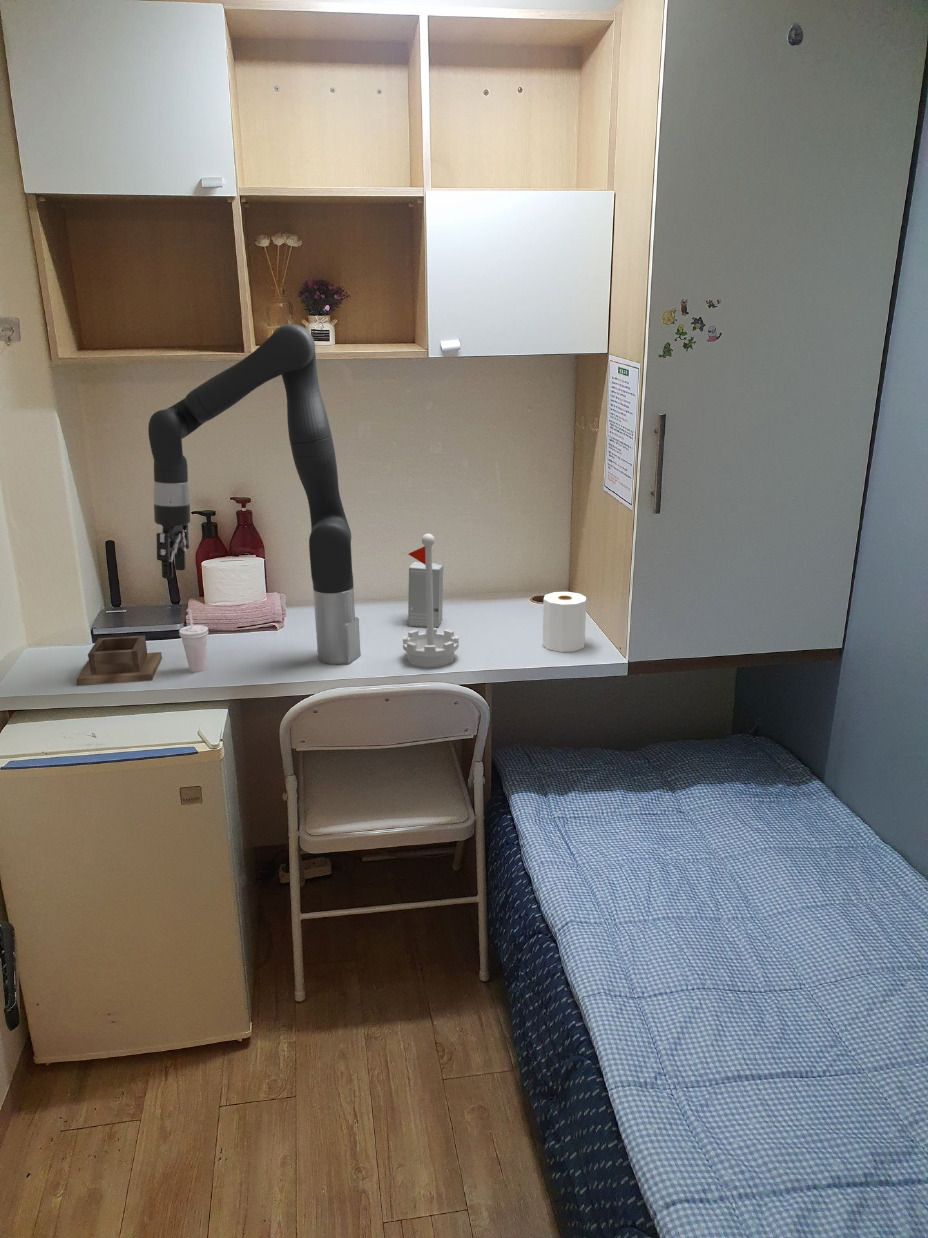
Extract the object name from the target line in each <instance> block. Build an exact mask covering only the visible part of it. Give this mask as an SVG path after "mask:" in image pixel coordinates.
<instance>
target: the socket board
mask: <svg viewBox="0 0 928 1238" xmlns="http://www.w3.org/2000/svg"><path fill="white" fill-rule="evenodd" d="M162 655H163V654H162V651H157V652H155V651H154V652H148V646H147V639H146V635H131V636H130V635H129V636H115V637H114V636H112V637H99V638H97V639H96V641H95V643H94V645H92V647H91V648H90V650H89V652H88V654H87V657H88V660H87V661H86V663H85V665H84V666H83V667H82V669H81V670H80V672H79V674H78V675H77V677H76V678H75V680H76V686H87V685H89V686H90V685H102V684H116V683H118V684H119V683H130V682H132V683H133V682H142V681H143V682H145V681H146V682H147V681H153V679H154V677H155V674H156V673H157V670H158V668H159V666H160V663H161V662H162V659H163V656H162Z"/></svg>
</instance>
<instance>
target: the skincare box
mask: <svg viewBox="0 0 928 1238" xmlns="http://www.w3.org/2000/svg"><path fill="white" fill-rule="evenodd" d="M432 582H433V625H434V628H439V627H440V625H441V623H442V622H443V603H444V602H443V601H444V600H443V599H444V598H443V597H444V596H443V595H444V563H434V562H432ZM407 601H408V603H407V604H408V605H407V606H408V609H407V610H408V611H407V612H408V615H407V616H408V617H407V619H408V621H407V625H408V627H418V628H419V627H421V628H422V627H423V628H425V627H426V628H427V606H426V567H425V564H423V563H421V562H420V561H414V562H412V563H411V564H410V565H409V567H408V600H407ZM441 621H442V622H441Z"/></svg>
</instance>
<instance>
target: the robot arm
mask: <svg viewBox="0 0 928 1238" xmlns="http://www.w3.org/2000/svg"><path fill="white" fill-rule="evenodd" d="M280 376H281V377H282V382H283V385H284V389H285V395H286V408H287V409H286V410H287V413H286V414H287V430H288V438H289V439H288V440H289V445H290V448H291V454H292V458H293V461H294V466H295V469H296V472H297V474H298V477H299V480H300V482H301V484H302V486H303V490H304V491H305V496H306V498H307V499H306V500H307V502H308V508H309V515H310V516H309V517H310V528H311V529H310V531H311V532H310V535H309V537H308V538H309V539H308V549H309V550H308V551H309V552H308V553H309V562H310V563H309V564H310V575H311V580H312V588H313V604H314V605H313V606H314V608H313V609H314V620H315V623H314V624H315V633H316V636H315V637H316V648H317V651H316V652H317V659H318V661H319V662H321V663H323V664H329V665H341V664H348V665H349V664H351V663H352V662H353V661H355V660H356V659H357V658H359V657H360V656H361V655H362V654H361V653H362V652H361V637H360V636H361V635H360V618H359V617H357V616H356V609H355V607H356V606H355V588H354V585H355V584H354V574H353V564H352V563H353V560H352V558H353V557H352V544H351V543H352V531H351V528H350V526H349V523H348V519H347V516H346V513H345V510H344V507H343V502H342V499H341V496H340V495H341V494H340V490H339V477H338V476H339V475H338V466H337V464H338V463H337V458H336V457H337V456H336V451H335V446H334V440H333V436H332V431H331V425H330V424H329V418H328V414H327V412H326V407H325V404H324V401H323V396H322V394H321V390H320V384H319V378H318V377H319V376H318V367H317V358H316V343H315V339H314V338H313V336H312V334H311V333H310V331H309V330H308V329H306V328H305V327H304V326H302V325H299V324H296V323H295V324H294V323H293V324H292V323H290V324H289V323H288V324H284V325H281V326H279V327H277V328H276V329H275V330H274V331H273V332H272V334H271V335H270V336H269V337H268V338H266V339H265V340H264V341H263V343H261V344H260V346H258V347H257V348H256V349H255V350H254V351H252V352H251V353H250V354H248V355H247V356H246V357H244V358H243V359H241V360H240V361H238V362H237V363H235V364H233V365H232V366H230V367H229V368H227V369H224V370H223V371H221V372H220V373H218V374H215V375H214V376H212V377H211V378H209V379H207V380H206V381H204V382H203V383H201V384H199V385H198V386H196V387H195V388H194V389H192V390H190V391H189V392H188V393H187V394H186V396H185V397H184V398H182V399H181V400H180V401H178V402H176V403H174V404H173V405H171V406H170V407H168V408H165V409H161V410H157V411H155V412H154V413H153V414H152V415H151V416H150V418H149V421H148V433H147V434H148V439H149V440H148V441H149V445H150V451H151V455H152V458H153V480H154V481H153V482H154V483H153V516H154V517H153V519H154V523H155V524H157V525H161V526H162V531H161V532H157V533H156V536H155V537H156V559H157V561H160V562H161V577H162V579H166V580H167V579H168V580H171V579H172V578H174V570H175V571H185V570H186V554H187V552H188V550H189V549H190V542H189V541H190V540H189V524H190V522H191V507H190V505H191V504H190V503H191V502H190V497H191V496H190V489H189V488H190V487H189V482H188V481H189V477H188V476H189V475H188V473H189V472H188V471H189V469H188V468H189V467H188V462H187V461H188V460H187V458H186V457H185V455H184V452H183V439H185V438H186V437H188V436H189V435H191V434H192V433H193V432H194V431H196V430H197V429H198V428H199V427H201V426H202V425H203V424H205V423H207V422H208V421H211V420H212V419H214V418H216V417H218V416H219V415H221V414H222V413H223V412H225V411H227V410H228V409H230V408H231V407H233V406H234V405H236V404H237V403H239V402H240V401H241V400H242V399H244V398H245V397H246V396H248V395H249V394H250V393H251V392H253V391H254V390H255V389H257V388H259V387H260V386H262V385H264V384H266V383H267V382H269V381H271V380H273V379H275V378H277V377H280ZM173 560H174V562H173ZM173 564H174V565H173ZM174 568H175V569H174Z"/></svg>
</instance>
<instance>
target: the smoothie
mask: <svg viewBox="0 0 928 1238" xmlns="http://www.w3.org/2000/svg"><path fill="white" fill-rule="evenodd" d="M188 616H189V623H190V624H189V625H187V626H184V627H182V628H180V629H179V630H178V632H179V633H178V635H179V637H181V641H182V645H183V649H184V650H183V651H184V653H185V657H186V660H187V664H188V669H189V671H190V672H191V673H200V672H204V671H205V670H206V669H207V661H208V658H207V653H208V650H207V649H208V648H207V647H208V634H209V628H208V627H207V626H206V625H202V624H193V623H194V621H193V614H192V610H188Z"/></svg>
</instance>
